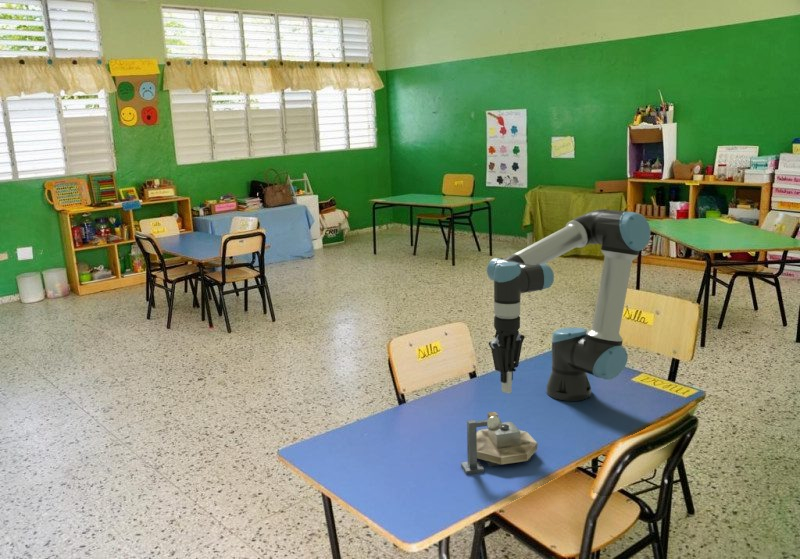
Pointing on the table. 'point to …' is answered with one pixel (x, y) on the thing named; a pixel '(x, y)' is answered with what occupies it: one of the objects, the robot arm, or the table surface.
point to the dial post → (473, 463)
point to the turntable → (504, 448)
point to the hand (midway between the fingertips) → (506, 391)
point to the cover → (505, 435)
